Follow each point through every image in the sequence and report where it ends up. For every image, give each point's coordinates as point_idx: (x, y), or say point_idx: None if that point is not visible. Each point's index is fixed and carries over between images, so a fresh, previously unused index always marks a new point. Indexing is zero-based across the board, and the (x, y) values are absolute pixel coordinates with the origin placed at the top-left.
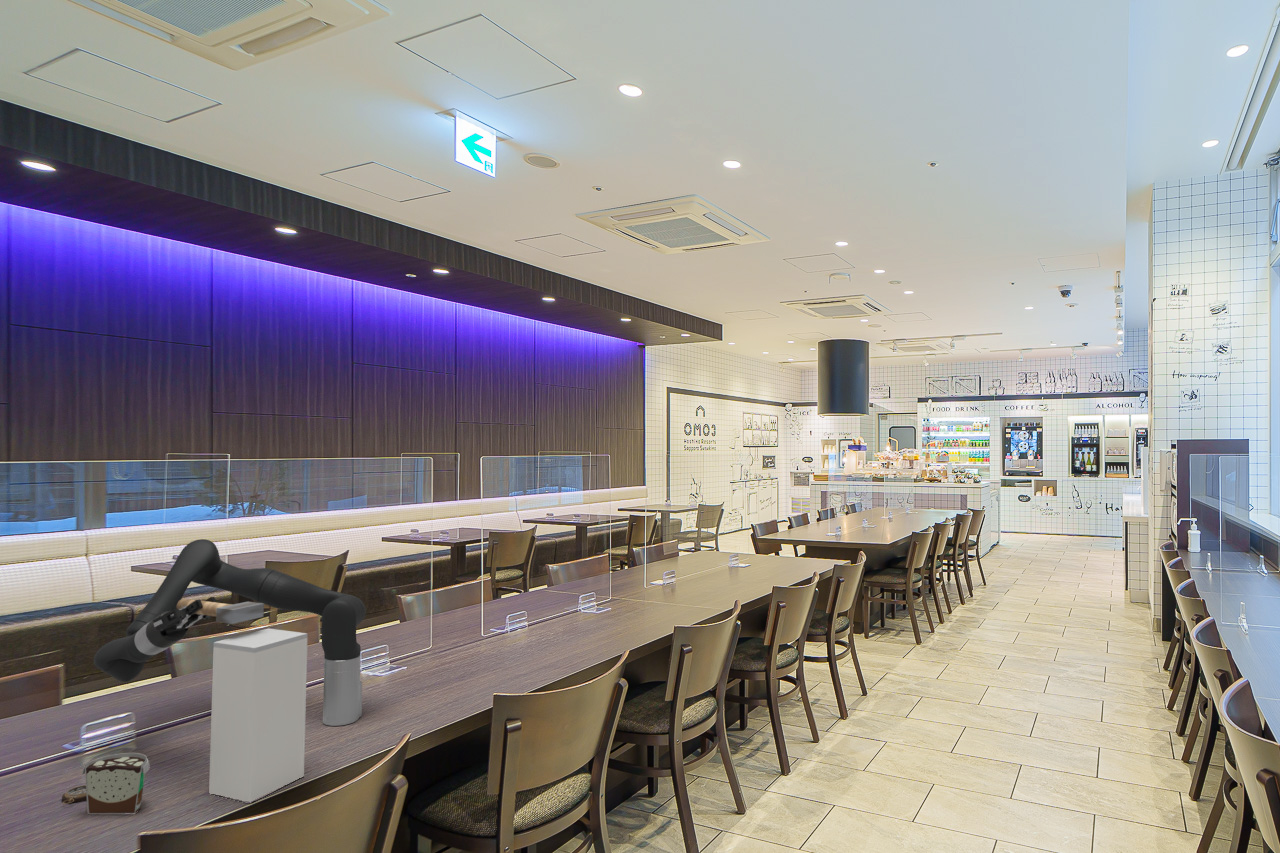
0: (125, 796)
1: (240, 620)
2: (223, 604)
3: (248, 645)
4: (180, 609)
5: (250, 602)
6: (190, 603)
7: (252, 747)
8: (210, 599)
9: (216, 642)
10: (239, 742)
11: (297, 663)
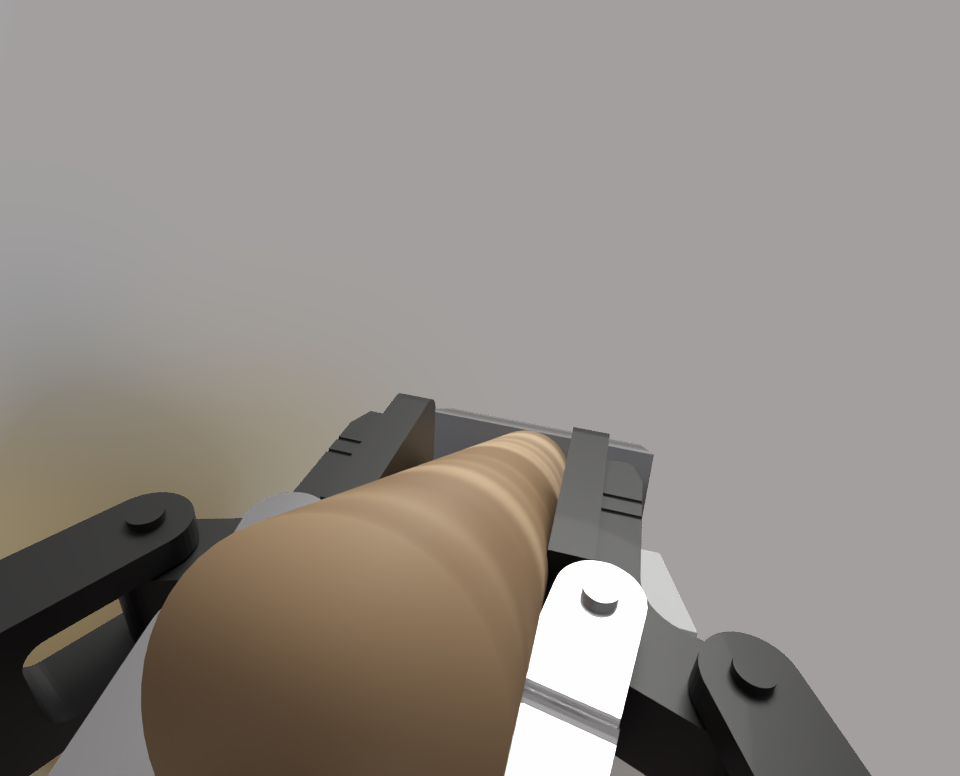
0: None
1: None
2: (540, 439)
3: (646, 563)
4: (631, 671)
5: (443, 411)
6: (531, 520)
7: None
8: (427, 426)
9: (690, 625)
10: None
11: None
